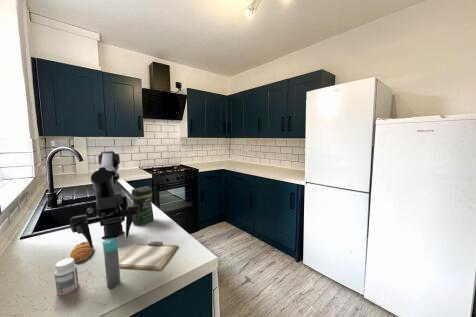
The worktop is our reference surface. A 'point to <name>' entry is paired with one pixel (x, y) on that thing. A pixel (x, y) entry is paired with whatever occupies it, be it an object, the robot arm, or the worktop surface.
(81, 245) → the pastry
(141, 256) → the clipboard
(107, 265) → the ball
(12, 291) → the worktop surface
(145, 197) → the coffee jar
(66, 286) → the pill bottle
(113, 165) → the robot arm
